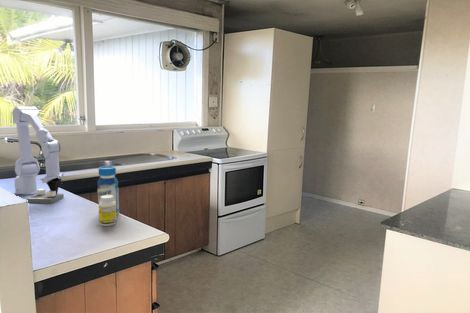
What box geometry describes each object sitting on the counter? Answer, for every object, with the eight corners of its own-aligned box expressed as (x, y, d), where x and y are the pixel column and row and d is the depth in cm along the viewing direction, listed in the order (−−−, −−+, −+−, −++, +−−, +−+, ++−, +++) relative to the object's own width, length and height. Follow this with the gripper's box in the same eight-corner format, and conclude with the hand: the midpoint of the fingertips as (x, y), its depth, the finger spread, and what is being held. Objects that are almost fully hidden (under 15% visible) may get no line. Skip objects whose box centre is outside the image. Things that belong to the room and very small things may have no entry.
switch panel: (27, 202, 166) (26, 198, 166) (40, 196, 176) (40, 192, 176) (51, 203, 165) (51, 199, 165) (63, 197, 175) (63, 193, 175)
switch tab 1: (36, 194, 171) (36, 190, 171) (39, 193, 174) (39, 188, 173) (42, 194, 171) (42, 190, 171) (45, 193, 173) (45, 189, 173)
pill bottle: (102, 221, 142) (101, 194, 140) (118, 220, 143) (117, 194, 141) (97, 226, 136) (96, 198, 134) (114, 226, 137) (113, 198, 135)
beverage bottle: (123, 212, 154) (122, 166, 151) (109, 217, 146) (107, 170, 143) (108, 209, 157) (106, 164, 154) (94, 215, 149) (91, 168, 146)
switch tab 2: (46, 196, 168) (46, 191, 168) (50, 195, 170) (49, 190, 170) (53, 196, 168) (52, 192, 167) (55, 195, 170) (55, 190, 170)
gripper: (51, 169, 162) (53, 198, 164) (68, 163, 176) (70, 190, 178) (36, 169, 162) (39, 198, 164) (55, 163, 177) (57, 190, 179)
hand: (54, 194), depth 171 cm, fingers closed
